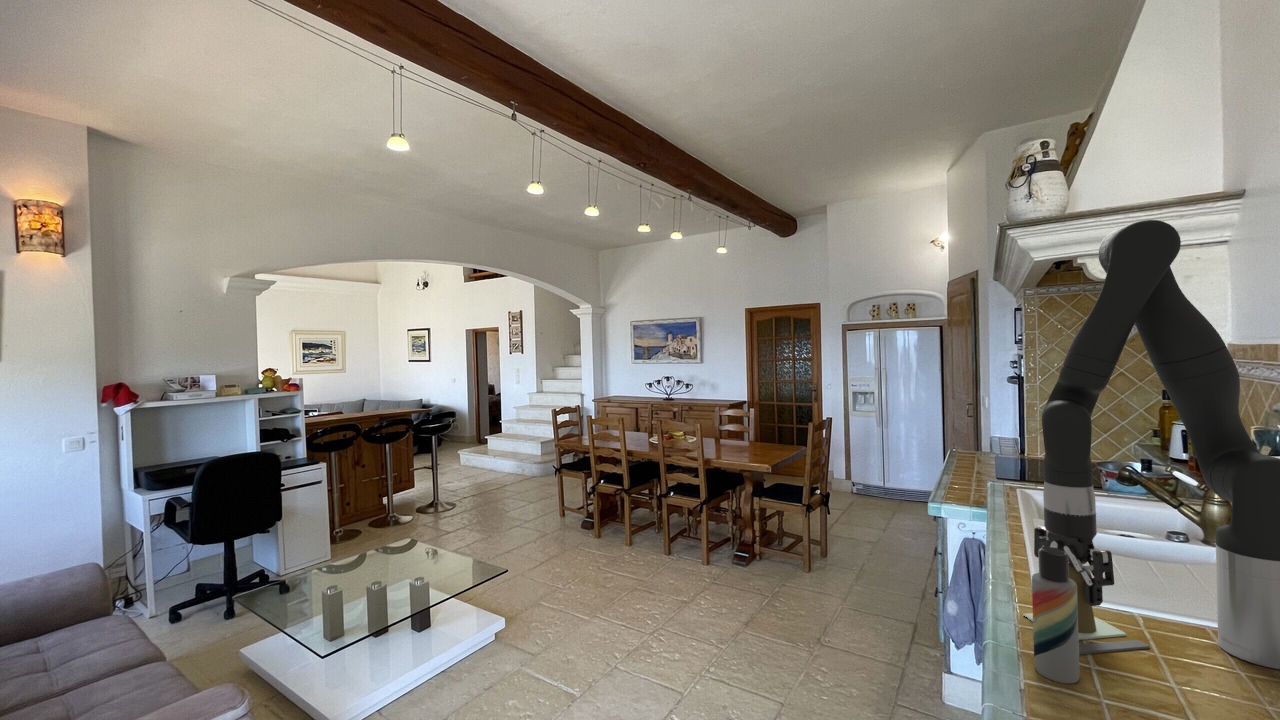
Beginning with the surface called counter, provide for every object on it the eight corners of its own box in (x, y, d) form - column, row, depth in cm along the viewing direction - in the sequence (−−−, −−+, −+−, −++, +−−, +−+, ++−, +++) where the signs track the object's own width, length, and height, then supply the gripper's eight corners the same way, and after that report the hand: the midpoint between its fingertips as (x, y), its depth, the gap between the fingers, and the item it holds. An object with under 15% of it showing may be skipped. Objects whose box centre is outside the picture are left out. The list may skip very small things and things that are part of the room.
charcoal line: (1138, 641, 92) (1138, 639, 92) (1149, 648, 90) (1149, 646, 90) (1051, 649, 91) (1051, 647, 91) (1061, 656, 89) (1061, 653, 89)
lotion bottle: (1035, 658, 88) (1031, 540, 88) (1079, 670, 85) (1076, 547, 84) (1033, 675, 84) (1029, 551, 84) (1079, 689, 80) (1076, 558, 80)
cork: (1104, 634, 94) (1102, 573, 94) (1065, 632, 95) (1063, 571, 95) (1083, 617, 100) (1082, 559, 99) (1047, 615, 101) (1045, 558, 101)
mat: (1080, 611, 103) (1080, 609, 103) (1126, 635, 94) (1126, 633, 94) (1022, 615, 102) (1022, 613, 102) (1063, 641, 93) (1063, 638, 93)
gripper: (1125, 517, 91) (1129, 611, 91) (1055, 495, 105) (1058, 576, 105) (1084, 520, 90) (1088, 614, 91) (1019, 498, 105) (1023, 579, 105)
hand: (1072, 594), depth 98 cm, fingers open, 8 cm apart
